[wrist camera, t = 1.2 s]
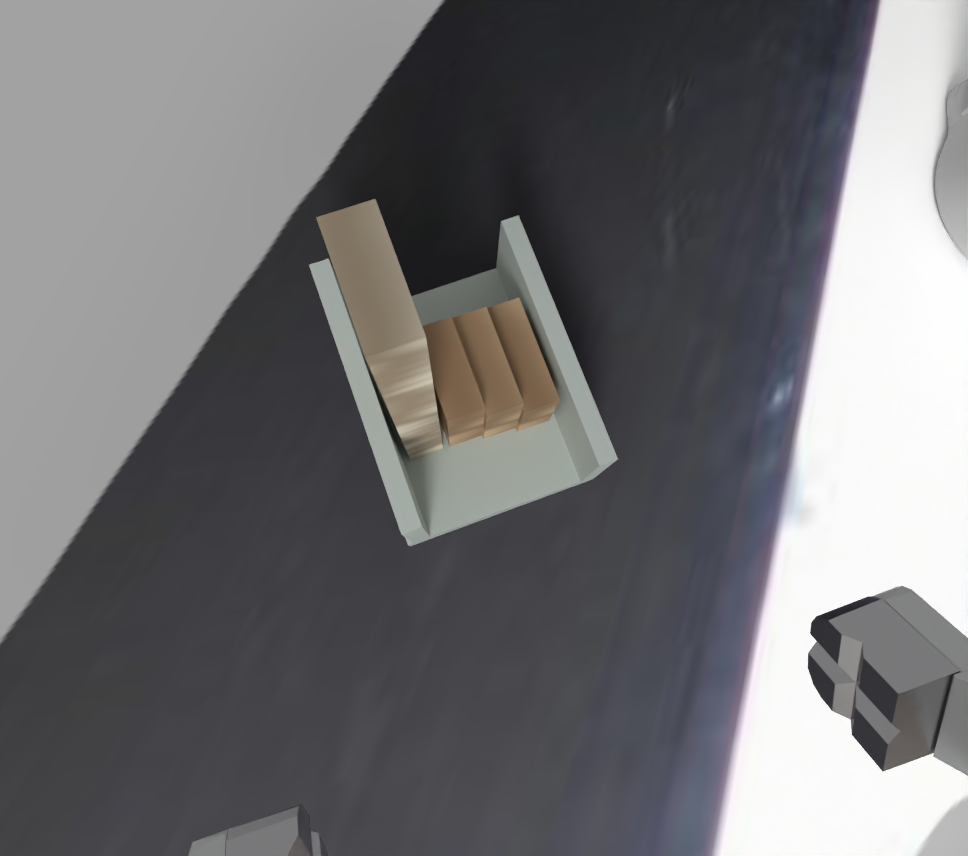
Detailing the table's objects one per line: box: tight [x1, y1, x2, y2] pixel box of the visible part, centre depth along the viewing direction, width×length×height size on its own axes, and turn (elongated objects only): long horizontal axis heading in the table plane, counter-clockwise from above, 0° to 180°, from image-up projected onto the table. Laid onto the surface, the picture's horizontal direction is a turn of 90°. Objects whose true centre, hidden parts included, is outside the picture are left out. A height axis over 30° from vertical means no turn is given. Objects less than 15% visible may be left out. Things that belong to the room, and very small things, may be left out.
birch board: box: [316, 199, 443, 460], centre depth 33 cm, size 2×5×20 cm, turn 20°
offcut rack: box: [309, 215, 618, 546], centre depth 40 cm, size 12×14×10 cm
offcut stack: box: [422, 298, 560, 447], centre depth 40 cm, size 6×6×7 cm
